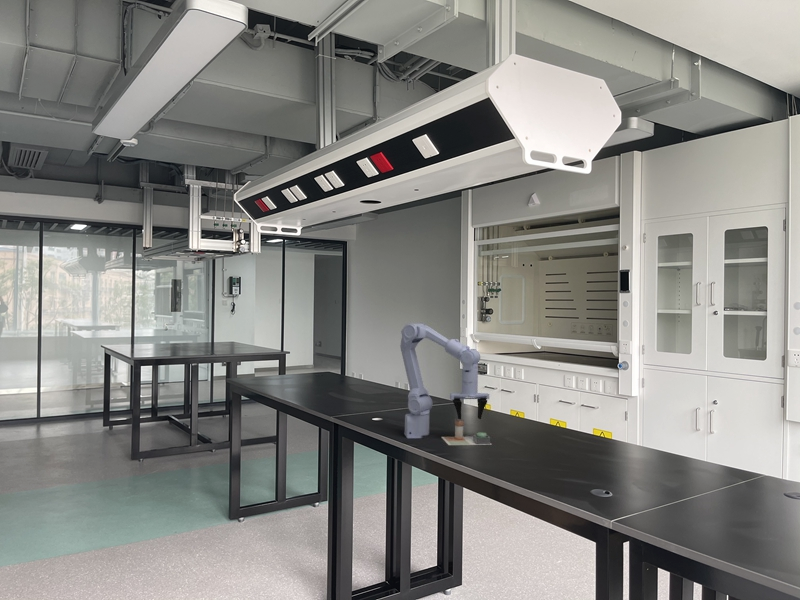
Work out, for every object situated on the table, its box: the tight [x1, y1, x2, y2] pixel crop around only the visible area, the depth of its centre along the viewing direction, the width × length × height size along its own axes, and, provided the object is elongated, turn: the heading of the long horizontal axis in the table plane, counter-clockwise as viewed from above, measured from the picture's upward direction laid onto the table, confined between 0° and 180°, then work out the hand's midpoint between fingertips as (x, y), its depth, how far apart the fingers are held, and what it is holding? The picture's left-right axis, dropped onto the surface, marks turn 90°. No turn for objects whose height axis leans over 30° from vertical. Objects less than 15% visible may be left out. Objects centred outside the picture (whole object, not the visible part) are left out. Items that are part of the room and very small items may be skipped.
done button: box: [476, 431, 487, 437], centre depth 210 cm, size 3×3×2 cm
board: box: [441, 436, 493, 446], centre depth 213 cm, size 16×13×1 cm
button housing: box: [472, 434, 491, 444], centre depth 210 cm, size 5×5×2 cm
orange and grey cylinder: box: [454, 418, 465, 440], centre depth 215 cm, size 3×3×7 cm
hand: (469, 418), depth 213 cm, fingers open, 7 cm apart
